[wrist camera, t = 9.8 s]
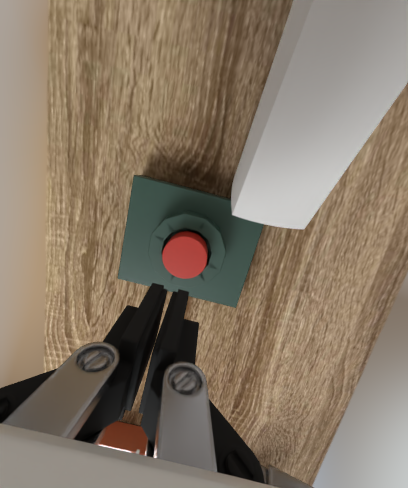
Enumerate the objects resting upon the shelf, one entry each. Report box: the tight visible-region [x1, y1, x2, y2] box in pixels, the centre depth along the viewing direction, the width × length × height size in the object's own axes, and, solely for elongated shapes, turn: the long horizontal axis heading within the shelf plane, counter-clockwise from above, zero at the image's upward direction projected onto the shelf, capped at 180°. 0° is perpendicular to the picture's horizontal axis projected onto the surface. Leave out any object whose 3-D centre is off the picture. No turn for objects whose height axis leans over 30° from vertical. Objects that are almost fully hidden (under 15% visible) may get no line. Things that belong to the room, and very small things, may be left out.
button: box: [162, 231, 208, 279], centre depth 19 cm, size 4×4×2 cm
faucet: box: [231, 0, 408, 229], centre depth 14 cm, size 6×16×20 cm
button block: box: [118, 175, 264, 308], centre depth 22 cm, size 12×10×4 cm
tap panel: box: [99, 421, 148, 456], centre depth 31 cm, size 14×11×3 cm
